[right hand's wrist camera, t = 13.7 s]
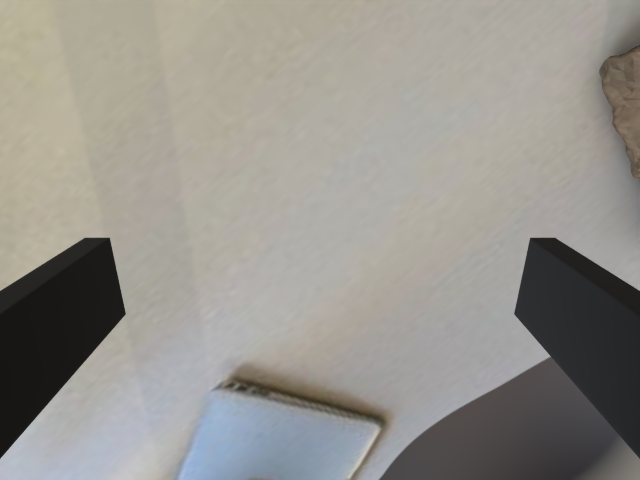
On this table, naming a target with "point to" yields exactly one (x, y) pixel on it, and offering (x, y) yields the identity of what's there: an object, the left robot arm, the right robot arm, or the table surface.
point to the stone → (625, 100)
